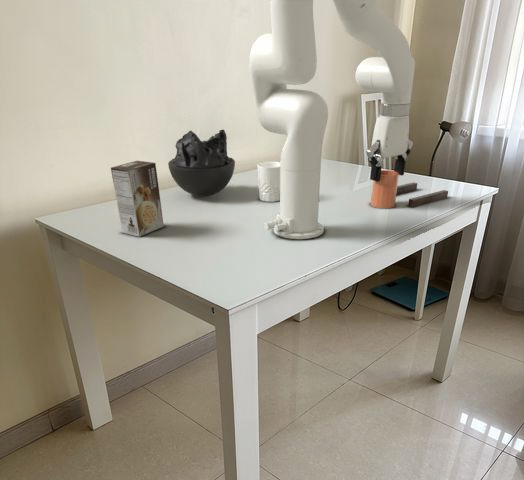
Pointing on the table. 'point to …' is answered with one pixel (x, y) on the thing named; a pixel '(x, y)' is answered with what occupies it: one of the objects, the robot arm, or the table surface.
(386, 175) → the peach cup
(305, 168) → the robot arm
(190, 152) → the bowl of black rocks
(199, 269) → the table surface
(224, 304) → the table surface
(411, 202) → the guide rails
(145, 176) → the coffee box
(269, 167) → the white cup
